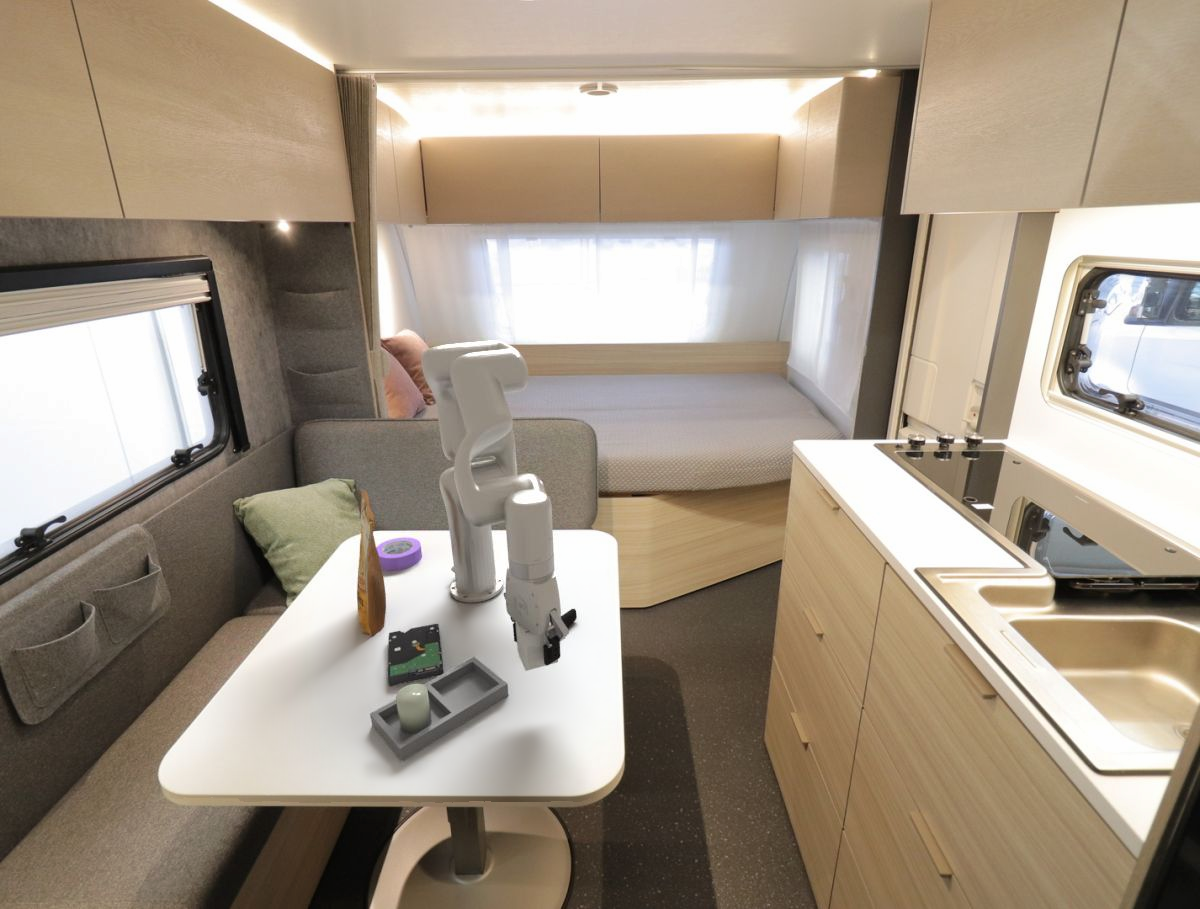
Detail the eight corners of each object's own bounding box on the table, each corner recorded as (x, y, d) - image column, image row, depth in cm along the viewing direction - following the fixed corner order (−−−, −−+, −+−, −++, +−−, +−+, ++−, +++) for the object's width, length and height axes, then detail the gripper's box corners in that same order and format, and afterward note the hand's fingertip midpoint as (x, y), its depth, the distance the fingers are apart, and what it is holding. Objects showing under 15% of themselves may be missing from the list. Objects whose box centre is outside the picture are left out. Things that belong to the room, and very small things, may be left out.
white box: (558, 663, 106) (557, 628, 103) (524, 671, 104) (522, 636, 101) (549, 642, 111) (547, 608, 109) (516, 650, 109) (514, 616, 107)
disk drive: (389, 644, 128) (389, 689, 114) (387, 632, 127) (387, 676, 114) (439, 633, 131) (445, 676, 117) (438, 622, 130) (443, 664, 116)
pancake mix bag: (392, 591, 146) (375, 483, 137) (392, 637, 129) (372, 517, 120) (363, 596, 144) (343, 488, 135) (359, 643, 127) (336, 522, 118)
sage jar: (395, 722, 105) (390, 694, 103) (422, 707, 108) (418, 679, 106) (409, 738, 101) (404, 709, 99) (437, 722, 105) (433, 693, 103)
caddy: (402, 761, 98) (399, 748, 97) (372, 725, 105) (369, 713, 104) (508, 695, 111) (507, 683, 110) (475, 667, 119) (474, 656, 118)
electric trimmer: (581, 623, 133) (581, 610, 132) (532, 659, 121) (531, 646, 120) (568, 617, 135) (568, 605, 134) (518, 652, 123) (517, 639, 122)
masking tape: (429, 550, 166) (427, 537, 165) (411, 571, 155) (409, 558, 154) (388, 548, 168) (386, 536, 167) (368, 570, 157) (366, 557, 156)
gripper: (482, 552, 104) (490, 637, 110) (547, 593, 92) (552, 685, 99) (518, 537, 109) (523, 619, 115) (583, 574, 97) (586, 663, 104)
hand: (536, 649), depth 107 cm, fingers closed on white box, 7 cm apart
